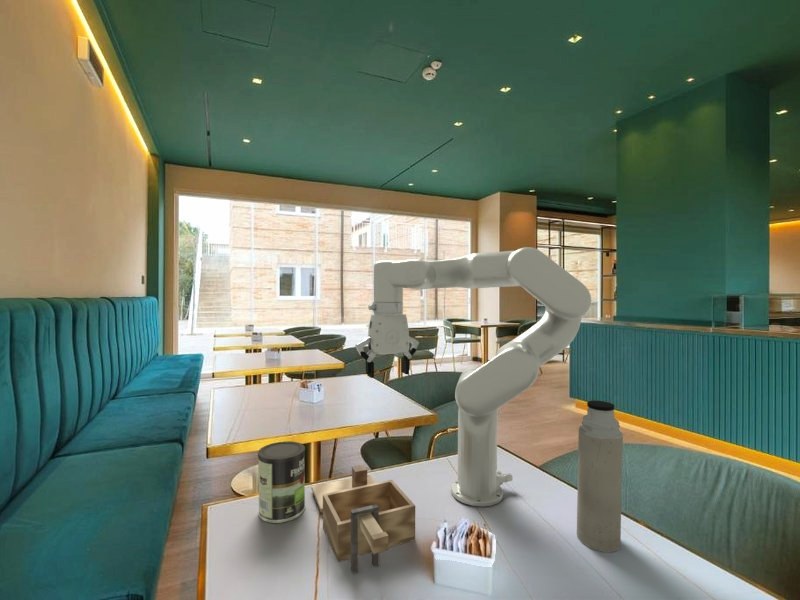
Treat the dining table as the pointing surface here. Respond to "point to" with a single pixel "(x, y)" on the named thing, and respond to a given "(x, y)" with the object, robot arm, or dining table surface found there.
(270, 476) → the coffee can
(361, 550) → the wooden box
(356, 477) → the lid
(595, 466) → the thermos bottle
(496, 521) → the dining table surface
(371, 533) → the tan rectangular block
